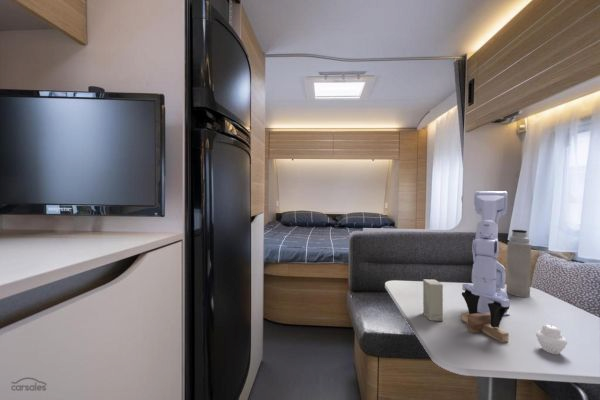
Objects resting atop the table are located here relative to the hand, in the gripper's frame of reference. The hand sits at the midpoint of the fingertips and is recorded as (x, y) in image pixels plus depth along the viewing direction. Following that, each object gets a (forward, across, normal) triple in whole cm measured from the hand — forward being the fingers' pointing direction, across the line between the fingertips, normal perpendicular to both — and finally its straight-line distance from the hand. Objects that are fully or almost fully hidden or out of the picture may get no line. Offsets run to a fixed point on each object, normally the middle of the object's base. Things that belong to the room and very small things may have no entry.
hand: (483, 320), depth 82 cm
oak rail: (+3, 0, 0) cm, 3 cm away
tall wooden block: (+3, 0, 0) cm, 3 cm away
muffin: (+3, +13, +8) cm, 16 cm away
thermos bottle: (+3, -24, +45) cm, 51 cm away
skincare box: (+3, -11, -9) cm, 15 cm away
